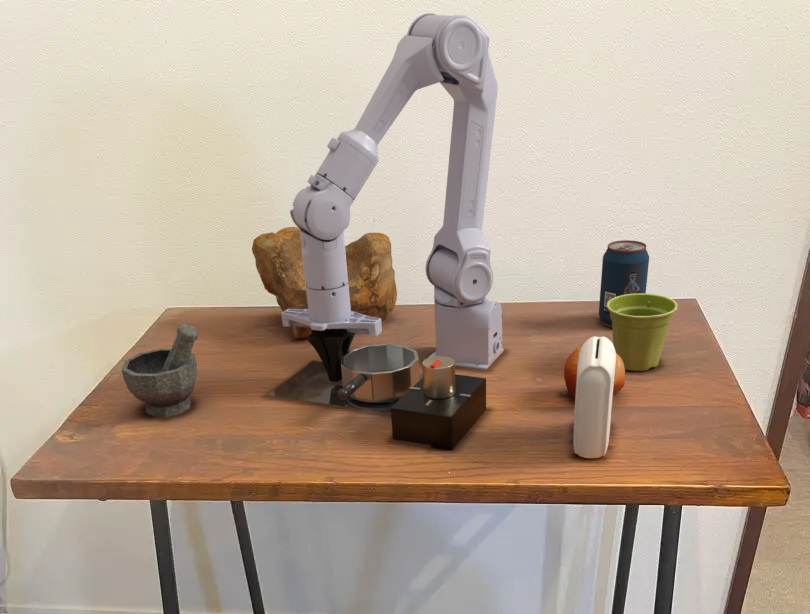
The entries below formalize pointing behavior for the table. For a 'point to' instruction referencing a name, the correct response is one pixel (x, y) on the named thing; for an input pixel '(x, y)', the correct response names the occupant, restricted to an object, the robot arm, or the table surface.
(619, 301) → the plant pot
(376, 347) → the saucepan
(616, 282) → the soda can
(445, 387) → the knob
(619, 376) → the fruit
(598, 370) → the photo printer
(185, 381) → the mortar and pestle
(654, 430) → the table surface
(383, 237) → the rough brown rock
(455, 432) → the box
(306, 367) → the hob
